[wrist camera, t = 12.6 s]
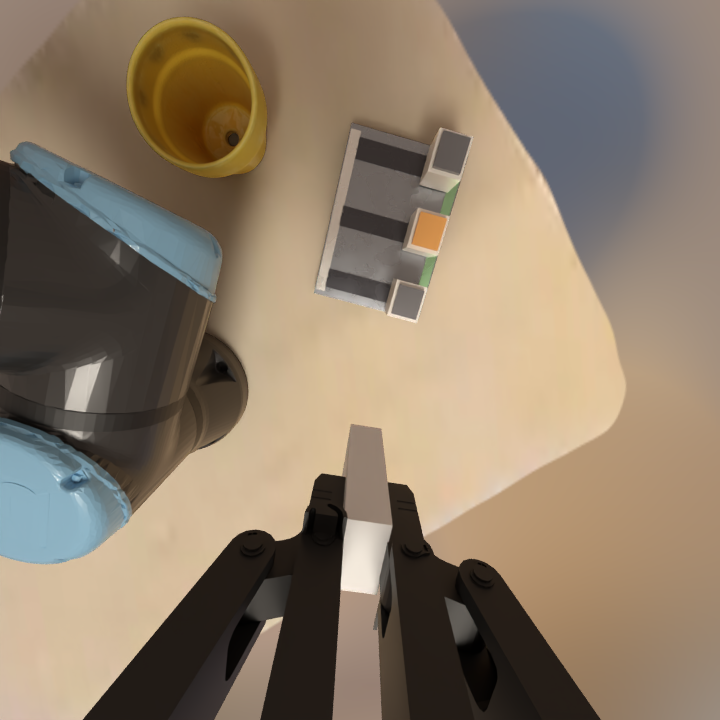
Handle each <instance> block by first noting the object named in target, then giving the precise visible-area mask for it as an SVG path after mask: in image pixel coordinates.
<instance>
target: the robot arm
mask: <svg viewBox="0 0 720 720" xmlns="http://www.w3.org/2000/svg"><path fill="white" fill-rule="evenodd" d="M10 157H11V158H10V159H11V160H12V161H14V162H15V163H14V164H11V163H7V162H4V161H1V160H0V556H3V557H6V558H9V559H13V560H17V561H21V562H26V563H34V564H57V563H62V562H66V561H69V560H71V559H76V558H81V557H83V556H85V555H87V554H89V553H90V552H92V551H94V550H95V549H96V548H98V547H99V546H100V545H101V544H102V543H103V542H105V541H106V540H107V539H108V538H109V537H110V536H111V535H113V534H114V533H115V532H116V531H117V530H119V529H120V528H122V527H123V526H124V525H125V524H126V523H128V521H129V518H130V517H131V516H132V515H133V514H134V512H135V511H136V510H137V509H138V508H139V507H140V506H141V505H142V504H143V503H144V502H145V501H146V500H147V498H148V497H149V496H150V495H151V494H152V493H153V492H154V491H155V490H156V489H157V488H158V487H159V486H160V485H161V483H162V482H163V481H164V480H165V479H166V478H167V477H168V476H169V475H170V474H171V473H172V472H173V471H174V470H175V468H176V467H177V466H178V465H179V464H180V463H181V462H182V461H183V460H184V459H185V458H186V457H187V456H188V454H190V453H192V452H195V451H196V450H198V449H202V448H205V447H208V446H210V445H212V444H215V443H216V442H218V441H220V440H221V439H222V438H224V437H225V436H226V435H227V434H228V433H229V432H230V431H231V430H232V429H233V428H234V426H235V425H236V424H237V423H238V421H239V420H240V418H241V417H242V415H243V413H244V411H245V408H246V404H247V398H248V386H247V380H246V376H245V373H244V371H243V368H242V366H241V364H240V363H239V361H238V359H237V358H236V356H235V355H234V354H233V353H232V351H231V350H230V349H229V348H228V347H227V346H226V345H224V344H223V343H222V342H221V341H219V340H218V339H216V338H215V337H213V336H211V335H209V334H207V333H205V329H206V326H207V322H208V319H209V315H210V312H211V308H212V305H213V302H216V299H217V297H216V294H215V291H216V286H217V282H218V277H219V273H220V269H221V264H222V250H221V247H220V244H219V243H218V241H217V239H216V238H215V237H214V236H213V235H212V234H211V233H210V232H208V231H207V230H205V229H204V228H202V227H200V226H198V225H196V224H194V223H192V222H190V221H188V220H186V219H184V218H182V217H180V216H178V215H176V214H174V213H172V212H170V211H168V210H167V209H165V208H163V207H161V206H159V205H157V204H155V203H153V202H151V201H148V200H146V199H144V198H142V197H141V196H139V195H137V194H135V193H133V192H131V191H129V190H127V189H125V188H123V187H121V186H119V185H117V184H115V183H113V182H111V181H109V180H107V179H105V178H103V177H101V176H99V175H97V174H95V173H93V172H91V171H89V170H87V169H85V168H83V167H81V166H78V165H76V164H74V163H72V162H70V161H68V160H66V159H64V158H62V157H60V156H58V155H56V154H54V153H52V152H50V151H48V150H46V149H44V148H42V147H40V146H38V145H36V144H34V143H31V142H27V141H26V142H22V143H19V145H18V146H17V147H16V149H14V150H12V151H11V152H10ZM379 584H380V600H379V605H378V609H377V614H376V618H375V622H374V628H373V629H374V630H377V627H378V635H379V659H380V682H381V683H380V684H381V706H382V720H600V718H599V717H598V715H597V714H596V712H595V711H594V709H593V708H592V707H591V705H590V704H589V702H588V701H587V699H586V698H585V696H584V695H583V694H582V692H581V691H580V689H579V688H578V686H577V685H576V684H575V682H574V681H573V679H572V678H571V676H570V675H569V673H568V672H567V671H566V669H565V668H564V666H563V665H562V663H561V662H560V660H559V659H558V658H557V656H556V655H555V653H554V652H553V651H552V649H551V647H550V646H549V645H548V643H547V642H546V640H545V639H544V637H543V636H542V634H541V633H540V632H539V630H538V629H537V627H536V626H535V624H534V623H533V622H532V620H531V619H530V617H529V616H528V614H527V613H526V611H525V610H524V609H523V607H522V606H521V604H520V603H519V601H518V600H517V599H516V597H515V596H514V594H513V593H512V591H511V590H510V589H509V587H508V586H507V584H506V583H505V581H504V580H503V578H502V577H501V576H500V574H499V573H498V572H497V571H496V570H495V569H494V568H493V567H491V566H490V565H488V564H487V563H485V562H482V561H480V560H476V559H468V560H464V561H463V562H462V563H461V564H460V566H459V567H457V566H455V565H452V564H450V563H447V562H445V561H443V560H441V559H439V558H438V557H436V556H435V555H434V553H433V550H432V549H431V546H430V545H429V544H428V543H427V542H426V541H425V540H424V538H423V534H422V529H421V525H420V520H419V516H418V512H417V507H416V505H415V498H414V494H413V493H412V491H411V490H410V489H409V487H408V486H407V485H403V484H396V483H389V482H387V474H386V465H385V457H384V448H383V439H382V431H381V429H380V428H374V427H367V426H360V425H354V424H351V427H350V433H349V439H348V445H347V450H346V456H345V462H344V468H343V475H342V476H335V475H329V474H321V475H320V476H319V477H318V478H317V479H316V480H315V482H314V487H313V491H312V496H311V500H310V505H309V506H308V507H307V509H306V511H305V515H304V522H303V529H302V531H301V532H300V533H299V534H298V535H296V536H295V537H293V538H290V539H286V540H281V541H275V540H274V538H273V537H272V536H271V535H270V534H268V533H267V532H265V531H261V530H249V531H245V532H243V533H240V534H238V535H237V536H236V537H235V538H234V539H232V541H231V542H230V543H229V544H228V545H227V547H226V548H225V549H224V550H223V551H222V553H221V554H220V555H219V556H218V558H217V559H216V560H215V561H214V562H213V564H212V565H211V566H210V567H209V568H208V570H207V571H206V572H205V573H204V574H203V576H202V577H201V578H200V579H199V580H198V582H197V583H196V584H195V585H194V586H193V588H192V589H191V590H190V591H189V592H188V594H187V595H186V596H185V597H184V598H183V600H182V601H181V602H180V603H179V604H178V606H177V607H176V608H175V609H174V610H173V612H172V613H171V614H170V615H169V616H168V618H167V619H166V620H165V621H164V622H163V624H162V625H161V626H160V627H159V629H158V630H157V631H156V632H155V633H154V635H153V636H152V637H151V638H150V639H149V641H148V642H147V643H146V644H145V645H144V647H143V648H142V649H141V650H140V651H139V653H138V654H137V655H136V656H135V657H134V659H133V660H132V661H131V662H130V663H129V665H128V666H127V667H126V668H125V669H124V671H123V672H122V673H121V674H120V675H119V677H118V678H117V679H116V680H115V681H114V683H113V684H112V685H111V686H110V687H109V689H108V690H107V691H106V692H105V693H104V695H103V696H102V697H101V698H100V700H99V701H98V702H97V703H96V704H95V706H94V707H93V708H92V709H91V710H90V712H89V713H88V714H87V715H86V716H85V718H84V719H83V720H214V719H215V717H216V715H217V713H218V711H219V709H220V708H221V706H222V704H223V702H224V700H225V698H226V696H227V694H228V693H229V691H230V689H231V687H232V685H233V683H234V681H235V679H236V677H237V675H238V673H239V672H240V670H241V668H242V666H243V664H244V662H245V660H246V659H247V657H248V655H249V653H250V651H251V649H252V647H253V645H254V643H255V642H256V640H257V638H258V636H259V634H260V632H261V630H262V629H263V627H264V625H265V622H266V620H268V619H273V618H277V617H282V616H283V621H282V625H281V630H280V634H279V639H278V643H277V648H276V652H275V656H274V661H273V665H272V670H271V675H270V679H269V683H268V689H267V693H266V697H265V701H264V706H263V711H262V715H261V719H260V720H332V715H333V699H334V683H335V668H336V652H337V637H338V636H337V635H338V621H339V606H340V590H346V591H353V592H361V593H368V594H375V595H377V593H378V588H379Z"/></svg>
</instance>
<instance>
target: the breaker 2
mask: <svg viewBox="0 0 720 720" xmlns="http://www.w3.org/2000/svg"><path fill="white" fill-rule="evenodd" d="M449 218H450V216H447V215H443V214H440V213H436V212H432V211H429V210H425V209H422V208H417V209H416V210H415V212H414V213H413V214H412V215H411V217H410V221H409V225H408V228H407V232H406V235H405V239H404V243H403V246H402V250H403V251H407V252H410V253H414V254H418V255H421V256H425V257H434V256H438V255H439V251H440V248H441V245H442V241H443V238H444V235H445V232H446V228H447V225H448V222H449Z"/></svg>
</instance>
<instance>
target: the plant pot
mask: <svg viewBox="0 0 720 720" xmlns="http://www.w3.org/2000/svg"><path fill="white" fill-rule="evenodd" d="M126 88H127V99H128V104H129V108H130V112H131V115H132V118H133V120H134V123H135V125H136V127H137V129H138V130H139V132H140V134H141V135H142V137H143V138H144V140H145V141H146V142H147V143H148V145H149V146H150V147H151V148H152V149H153V150H154V151H155V152H156V153H157V154H158V155H160V156H161V157H162V158H163V159H165V160H166V161H168V162H170V163H171V164H173V165H175V166H177V167H179V168H181V169H183V170H185V171H188V172H190V173H193V174H195V175H199V176H202V177H209V178H219V177H225V176H229V175H232V174H243V173H247V172H249V171H251V170H253V169H254V168H255V167H256V166H257V165H258V164H259V163H260V162H261V160H262V158H263V156H264V153H265V149H266V133H265V132H266V127H267V107H266V101H265V97H264V93H263V90H262V87H261V85H260V82H259V80H258V78H257V76H256V74H255V72H254V70H253V68H252V66H251V64H250V63H249V61H248V59H247V57H246V56H245V54H244V53H243V51H242V50H241V48H240V47H239V46H238V44H237V43H236V42H235V41H234V40H233V39H232V38H231V37H230V36H229V35H228V34H227V33H226V32H224V31H223V30H222V29H220V28H219V27H217V26H215V25H213V24H211V23H209V22H207V21H204V20H201V19H197V18H192V17H176V18H171V19H167V20H164V21H162V22H160V23H158V24H156V25H155V26H153V27H152V28H151V29H150V30H148V31H147V32H146V33H145V34H144V36H143V37H142V38H141V39H140V41H139V42H138V44H137V46H136V47H135V49H134V51H133V54H132V56H131V59H130V62H129V66H128V71H127V84H126ZM232 133H236V134H237V135H238V136H239V142H238V144H237V145H236V146H231V145H230V144H229V142H228V137H229V135H231V134H232Z"/></svg>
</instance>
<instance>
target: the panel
mask: <svg viewBox="0 0 720 720" xmlns="http://www.w3.org/2000/svg"><path fill="white" fill-rule="evenodd" d="M429 147H430V145H427V144H423V143H420V142H416V141H413V140H410V139H406V138H403V137H399V136H396V135H392V134H389V133H385V132H382V131H379V130H375V129H372V128H368V127H365V126H361V125H358V124H354V123H351V128H350V132H349V137H348V141H347V146H346V151H345V155H344V160H343V164H342V169H341V173H340V178H339V182H338V187H337V191H336V196H335V200H334V205H333V209H332V214H331V218H330V223H329V227H328V232H327V236H326V241H325V245H324V250H323V254H322V259H321V263H320V268H319V272H318V277H317V281H316V286H315V290H314V293H316V294H320V295H323V296H327V297H331V298H335V299H339V300H342V301H346V302H350V303H354V304H357V305H361V306H365V307H369V308H373V309H376V310H380V311H384V312H385V310H384V309H385V306H386V302H387V299H388V295H389V291H390V288H391V284H392V280H393V278H395V279H398V280H402V281H406V282H410V283H413V284H417V285H421V286H424V287H427V288H428V286H429V283H430V280H431V276H432V273H433V270H434V267H435V263H436V260H437V257H438V256H434V257H425V256H421V255H418V254H414V253H410V252H407V251H403V250H402V246H403V243H404V239H405V235H406V232H407V228H408V225H409V221H410V217H411V215H412V214H413V213H414V212H415V210H416V209H417V208H422V209H425V210H429V211H432V212H436V213H440V214H443V215H447V216H450V214H451V211H452V208H453V204H454V201H455V198H456V194H457V191H458V188H459V185H460V182H459V183H457V184H456V185H455V186H454V187H453V188H452V189H451V190H450V191H449V192H448V193H446V192H443V191H439V190H436V189H432V188H429V187H425V186H422V185H419V183H420V180H421V176H422V172H423V169H424V165H425V162H426V158H427V154H428V151H429ZM466 162H467V161H466ZM465 165H466V164H465ZM464 168H465V167H464ZM462 175H463V174H462ZM461 178H462V177H461ZM460 181H461V180H460ZM426 293H427V292H426ZM425 296H426V295H425ZM423 303H424V302H423ZM422 306H423V305H422ZM421 309H422V308H421ZM419 316H420V315H419ZM418 319H419V318H418Z"/></svg>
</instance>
